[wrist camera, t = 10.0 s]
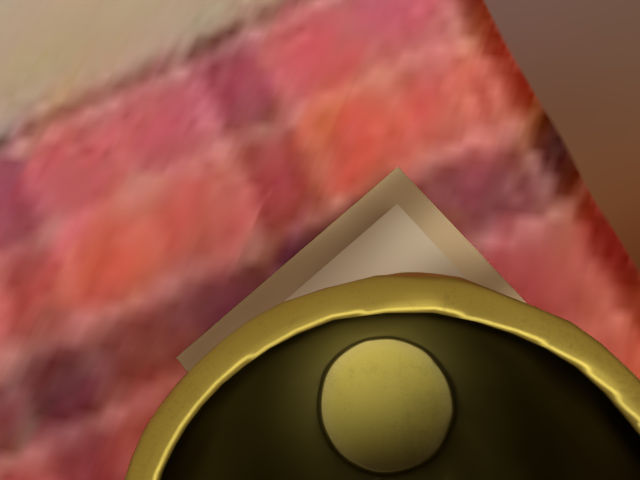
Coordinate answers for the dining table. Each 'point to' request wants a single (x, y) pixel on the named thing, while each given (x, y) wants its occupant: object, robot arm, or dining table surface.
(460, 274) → the pedestal
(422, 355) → the vase
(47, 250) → the dining table surface
